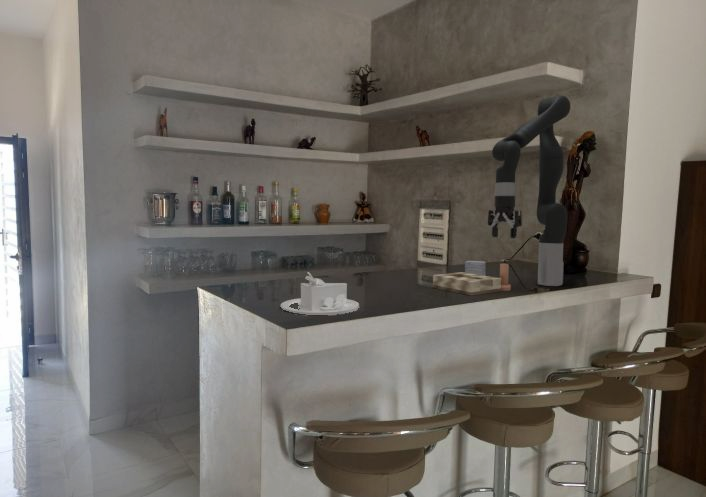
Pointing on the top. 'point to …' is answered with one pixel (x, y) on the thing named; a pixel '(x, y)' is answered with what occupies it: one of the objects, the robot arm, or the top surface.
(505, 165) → the robot arm
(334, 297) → the dish
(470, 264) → the medicine box
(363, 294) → the top surface
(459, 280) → the beige flat block
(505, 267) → the peg
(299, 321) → the top surface
